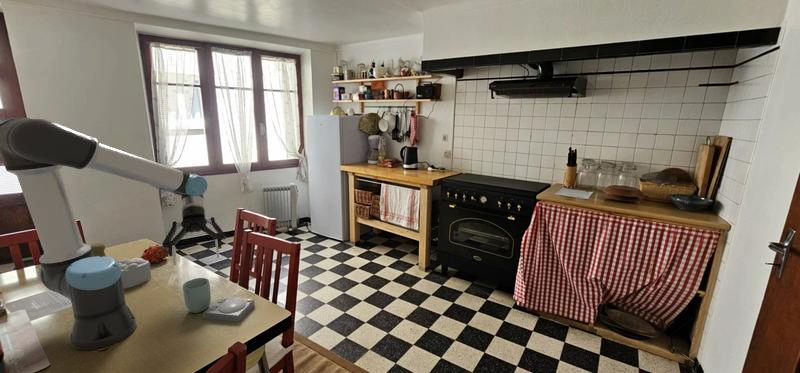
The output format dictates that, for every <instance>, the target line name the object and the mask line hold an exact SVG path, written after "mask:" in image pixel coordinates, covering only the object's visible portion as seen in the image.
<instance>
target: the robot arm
mask: <svg viewBox="0 0 800 373" xmlns="http://www.w3.org/2000/svg"><path fill="white" fill-rule="evenodd" d="M0 156H1V160H2V162H3V166H4V168H5V171H6V172H9V173H11V174H14V175H15V176H16V177H17V180H18V183H19V186H20V188H21V191H22V195H23V196H24V200H25V203H26V205H27V207H28V211H29V213H30V216H31V219H32V222H33V224H34V227H35V230H36V233H37V235H38V239H39V241H40V245H41V248H42V250H43V254H42V255H41V256H40V257H39V260H38V261H39V263H40V270H39V275H38V276H39V278H40V279H39V280H40V281H41V283H42V284H43V286H44V287H46V288H47V289H48V290H49V291H52V292H54V293H57V294H59V295H61V296H63V297H65V298H67V299H69V300H70V303H71V307H72V312H73V316H74V317H73V318H74V321H73V325H72V332H71V334H70V336H69V341H70V346H71V348H72V349H73V350H77V351H92V350H99V349H101V348H104V347H108V346H111V345H113V344H115V343H118V342H120V341H122V340H124V339H125V338H127V337H129V335H131V334H132V333H133V332H134V331H135V329H136V327H137V320H136V319H137V318H136V317H135V315H134V314H133V312H132V310H130V308H129V306H128V305H127V303H126V298H125V290H124V289H123V283H122V277H121V269H120V267H119V263H118V262H119V261H118V260H116V259H115V258H113V257H111V256H106V257H105V256H103V257H100V256H97V257H94V254H93V251H92V248H91V244H87V243H84V241H83V238H82V235H81V232H80V229H79V226H78V222H77V219H76V217H75V213H74V210H73V207H72V204H71V200H70V197H69V195H68V191H67V189H66V185H65V182H64V178H63V175H62V172H61V168H62V167H63V166H64V167H69V168H73V169H78V170H84V169H86V168H87V169H89V170H90V169H91V170H95V171H99V172H102V173H105V174H109V175H113V176H116V177H119V178H120V177H121V178H124V179H128V180H130V181H136V182H138V183H139V182H140V183H144V184H147V185H149V186H151V187H153V188H155V189H159V190H162V191H164V192H168V193H171V194H175V195H176V196H177V195H178V196H180V197H181V210H182V212H181V215H182V217H181V219H182V221H181V222H177V221H172V225H171V226H172V227H170V230H169V231H168V232H167V234H166V236H165V238H164V240H163V242H162V245H163V247H164V248H169V254H168V255H169V256H168V257H171V258H172V265H173V266H177V249H176V246H177V244H179V242H180V241H181V240H182V238H184V237H185V235H187V234H188V233H195V232H197V233H199V232H201V231H202V232H204V233H205V234H207V235H208V236H210V238H213V239H214V243H215V252H216V258H217V259H219V258H220V254H219V252H220V251H219V250H220V249H222V241H223V240H226V239H227V235H226V233H225V232H224V231H223V230H222V228H221V227H220V226H219V224H218V223H217V222H216V220H215V217H214V216H212V217H210V218H208V219H206V214H205V212H206V211H205V200H204V194H205V193H206V191H207V190H208V182H207V179H206V178H205V177H204V176H202V175H198V174H197V173H189V172H186V171H183V170H180V169H177V168H174V167H171V166H168V165H165V164H162V163H159V162H156V161H153V160H150V159H147V158H144V157H141V156H139V155H136V154H132V153H129V152H126V151H123V150H121V149H117V148H115V147H111V146H109V145H106V144H103V143H100V142H99V141H98V139H97V138H96V137H93V136H91V135H88V134H85V133H82V132H79V131H77V130H76V129H73V128H70V127H67V126H65V125H63V124H60V123H58V122H55V121H52V120H48V119H41V118H30V117H16V118H15V117H14V118H9V119H5V120H2V121H0ZM207 224H209V225H211V226H212V228H213V229H214V230H215V231H216V232H217V233H216V232H215V231H214V230H212V229H210V228H209V227H208V225H207ZM180 227H182V229H181V230H180V231H179V232H178V233H177V234H176V232H177V230H178V229H179V228H180ZM175 234H176V235H175Z"/></svg>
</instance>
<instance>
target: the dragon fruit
mask: <svg viewBox="0 0 800 373" xmlns="http://www.w3.org/2000/svg"><path fill="white" fill-rule="evenodd" d="M169 257H170V256H169V248H164V247H163V245H160V244H155V245H152V246H149V247H148V248H146V249H144V250H143V253H142V254H141V257H140V258H142V259H144V260H147V261H149V264H153V262H154V263H156V264H159V263H160V262H162V261H164V259H166V258H169Z"/></svg>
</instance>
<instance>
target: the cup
mask: <svg viewBox="0 0 800 373" xmlns="http://www.w3.org/2000/svg"><path fill="white" fill-rule="evenodd" d="M211 292H212V291H211V283H210V280H209V279H208V278H206V277H197V278H193V279H191V280H188V281H186V282H184V283H183V285H182V293H183V299H184V300H183V301H184V305H185V307H186V310H187V311H189V312H190V313H193V314H198V313H202V312H205V311H206V310H207V309H208V308H209V307H210V306H211V305H210V304H211V301H212V300H211V299H212V295H211Z"/></svg>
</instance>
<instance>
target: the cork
mask: <svg viewBox="0 0 800 373" xmlns="http://www.w3.org/2000/svg"><path fill="white" fill-rule="evenodd" d="M90 246H91V248H92V251H93V254H94V257H97V256H100V257H103V256H105V257H107V254H106V252H105V250H106V246H105V244H104V243H101V242H98V243H94V244H90Z"/></svg>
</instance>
